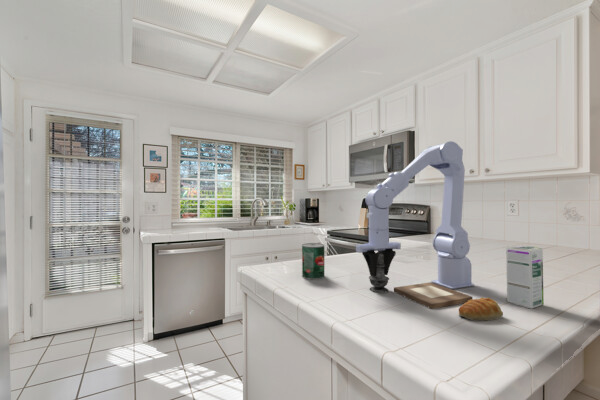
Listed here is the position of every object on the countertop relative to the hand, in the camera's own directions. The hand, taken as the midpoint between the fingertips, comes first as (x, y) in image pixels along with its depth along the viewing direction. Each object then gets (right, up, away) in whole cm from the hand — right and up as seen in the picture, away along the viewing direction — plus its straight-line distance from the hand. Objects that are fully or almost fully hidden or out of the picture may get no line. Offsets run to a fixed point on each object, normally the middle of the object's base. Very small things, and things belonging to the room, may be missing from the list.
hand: (378, 275), depth 85 cm
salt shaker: (0, -5, 0) cm, 5 cm away
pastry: (+18, -5, -19) cm, 27 cm away
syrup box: (+34, -5, -11) cm, 37 cm away
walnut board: (+13, -4, -6) cm, 15 cm away
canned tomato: (-19, -5, +15) cm, 25 cm away
